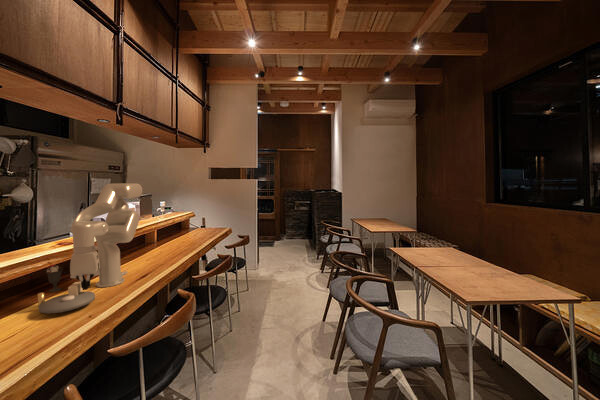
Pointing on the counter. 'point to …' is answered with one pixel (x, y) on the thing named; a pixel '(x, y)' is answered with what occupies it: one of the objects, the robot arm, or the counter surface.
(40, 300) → the brown rounded oblong piece
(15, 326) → the counter surface
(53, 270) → the sundae
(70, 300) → the disc
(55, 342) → the counter surface
